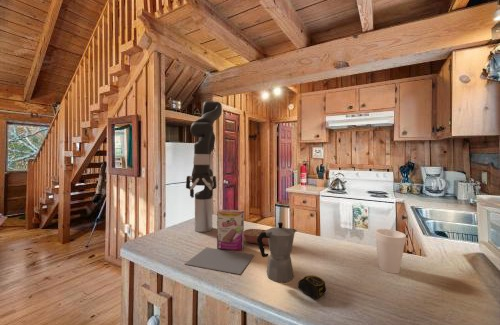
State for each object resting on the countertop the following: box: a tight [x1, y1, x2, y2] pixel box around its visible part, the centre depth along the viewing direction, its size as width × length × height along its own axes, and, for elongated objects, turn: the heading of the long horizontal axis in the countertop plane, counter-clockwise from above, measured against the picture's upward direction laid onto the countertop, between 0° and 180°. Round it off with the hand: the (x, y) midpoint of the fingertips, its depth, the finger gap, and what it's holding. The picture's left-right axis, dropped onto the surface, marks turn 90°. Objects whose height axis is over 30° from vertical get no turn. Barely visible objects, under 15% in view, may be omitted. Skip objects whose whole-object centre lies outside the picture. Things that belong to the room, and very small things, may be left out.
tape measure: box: [297, 275, 327, 300], centre depth 67 cm, size 7×7×4 cm
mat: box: [184, 246, 255, 276], centre depth 88 cm, size 16×22×1 cm
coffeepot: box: [257, 221, 297, 283], centre depth 76 cm, size 15×9×18 cm, turn 116°
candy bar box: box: [216, 209, 245, 251], centre depth 99 cm, size 11×5×16 cm, turn 84°
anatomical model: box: [244, 228, 269, 246], centre depth 104 cm, size 23×10×5 cm, turn 67°
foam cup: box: [374, 228, 407, 274], centre depth 81 cm, size 10×9×13 cm
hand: (201, 197), depth 109 cm, fingers open, 8 cm apart
